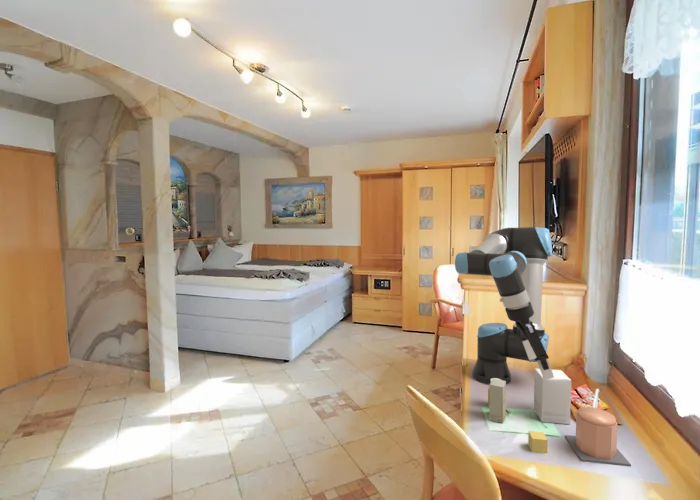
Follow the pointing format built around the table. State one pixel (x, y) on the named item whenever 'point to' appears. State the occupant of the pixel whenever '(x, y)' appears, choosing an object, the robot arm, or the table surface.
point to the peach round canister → (596, 432)
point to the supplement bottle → (489, 391)
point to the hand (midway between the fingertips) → (540, 367)
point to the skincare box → (497, 400)
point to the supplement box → (552, 397)
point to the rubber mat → (616, 460)
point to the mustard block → (537, 442)
